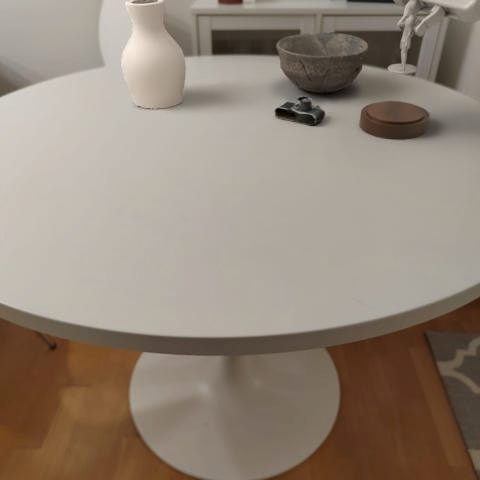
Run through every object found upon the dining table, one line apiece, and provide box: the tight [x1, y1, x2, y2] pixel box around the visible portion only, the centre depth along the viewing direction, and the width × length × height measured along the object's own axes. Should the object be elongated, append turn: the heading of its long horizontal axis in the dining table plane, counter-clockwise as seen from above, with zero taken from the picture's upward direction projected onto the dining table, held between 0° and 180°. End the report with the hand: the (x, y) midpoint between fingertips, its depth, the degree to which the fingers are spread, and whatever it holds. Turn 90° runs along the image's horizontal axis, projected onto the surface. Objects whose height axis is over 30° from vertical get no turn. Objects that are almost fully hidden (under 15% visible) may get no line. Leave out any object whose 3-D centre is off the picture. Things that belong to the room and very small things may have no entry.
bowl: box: [275, 31, 369, 94], centre depth 106 cm, size 21×21×10 cm
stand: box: [358, 100, 431, 140], centre depth 90 cm, size 13×13×3 cm
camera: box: [274, 95, 326, 126], centre depth 95 cm, size 5×10×4 cm, turn 53°
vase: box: [120, 0, 187, 110], centre depth 100 cm, size 14×14×20 cm
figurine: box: [387, 0, 418, 75], centre depth 81 cm, size 5×5×12 cm
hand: (408, 31), depth 80 cm, fingers closed on figurine, 2 cm apart
